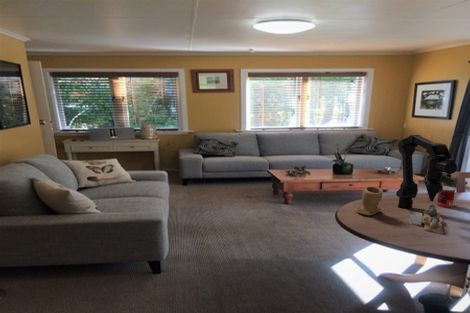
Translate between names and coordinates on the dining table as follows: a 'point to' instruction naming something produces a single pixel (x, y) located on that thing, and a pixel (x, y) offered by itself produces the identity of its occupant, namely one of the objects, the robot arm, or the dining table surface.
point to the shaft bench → (427, 223)
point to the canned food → (446, 197)
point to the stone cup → (370, 201)
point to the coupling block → (415, 218)
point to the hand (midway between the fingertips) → (430, 198)
